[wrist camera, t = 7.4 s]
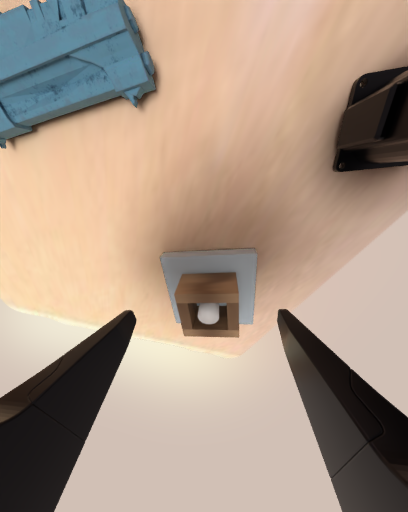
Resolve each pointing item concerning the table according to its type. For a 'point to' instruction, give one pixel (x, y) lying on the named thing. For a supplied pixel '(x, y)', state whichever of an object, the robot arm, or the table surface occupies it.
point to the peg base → (214, 263)
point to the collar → (208, 291)
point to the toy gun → (67, 60)
